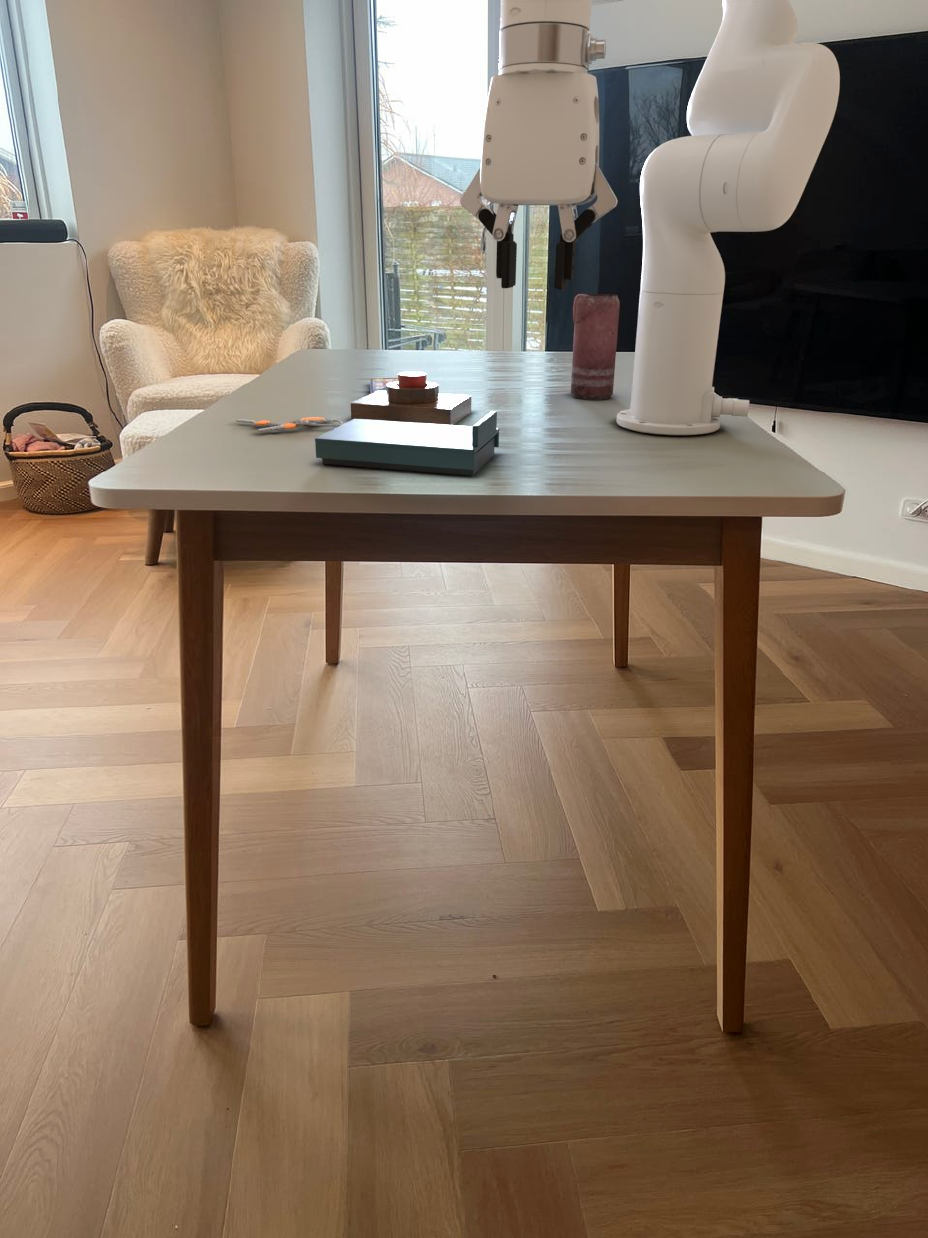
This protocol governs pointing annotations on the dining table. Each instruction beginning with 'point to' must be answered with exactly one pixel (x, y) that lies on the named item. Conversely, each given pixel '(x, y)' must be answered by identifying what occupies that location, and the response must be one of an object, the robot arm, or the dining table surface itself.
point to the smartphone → (380, 383)
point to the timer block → (412, 405)
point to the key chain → (293, 423)
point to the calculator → (480, 460)
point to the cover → (408, 442)
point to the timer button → (412, 379)
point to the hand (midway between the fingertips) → (534, 285)
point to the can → (594, 345)
